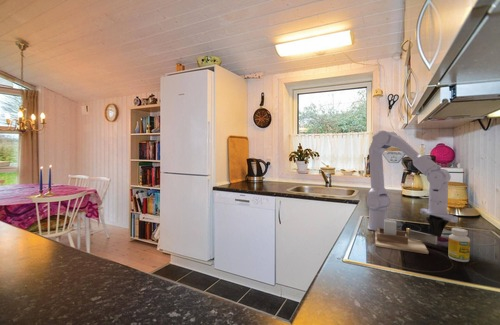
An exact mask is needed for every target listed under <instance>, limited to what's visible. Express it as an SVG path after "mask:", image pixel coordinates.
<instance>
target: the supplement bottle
mask: <svg viewBox="0 0 500 325" xmlns="http://www.w3.org/2000/svg"><path fill="white" fill-rule="evenodd" d="M468 235H469V231H468V229H465V228H464V229H463V228H460V227H459V228H458V227H451V234H449V235H448V247H447V248H448V250H447V251H448V253H447V254H448V257H449V259H450V260H454V261H456V262H460V263H468V262H470V256H471V253H470V252H471V239H470V237H469V236H468Z"/></svg>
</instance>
